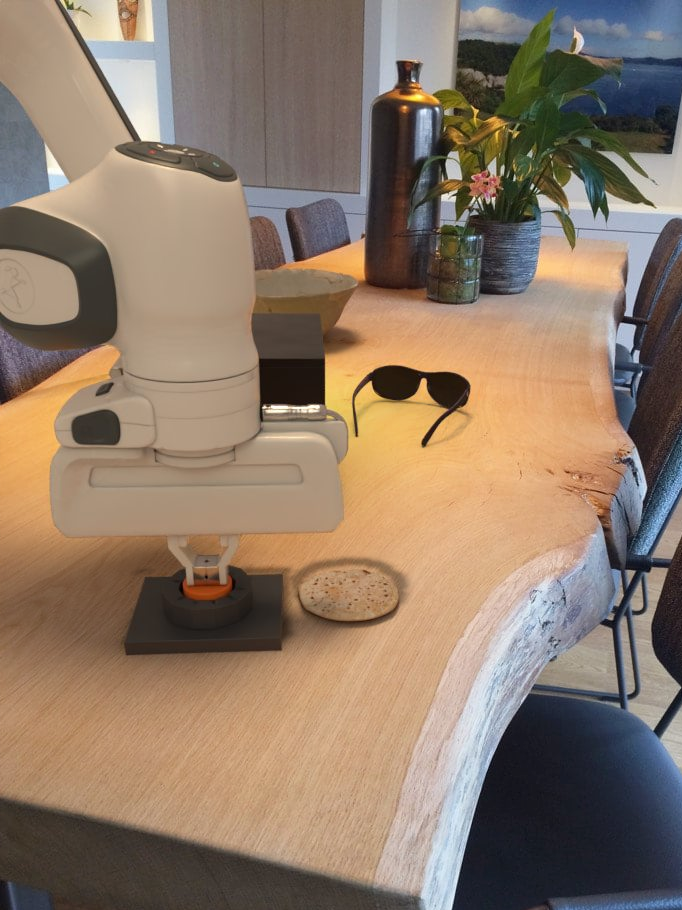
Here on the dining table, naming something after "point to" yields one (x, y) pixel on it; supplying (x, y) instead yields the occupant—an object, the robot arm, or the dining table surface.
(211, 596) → the button
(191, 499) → the robot arm
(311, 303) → the ceramic bowl
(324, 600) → the flatbread
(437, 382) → the sunglasses
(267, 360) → the mini oven
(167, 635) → the block
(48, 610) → the dining table surface
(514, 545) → the dining table surface
